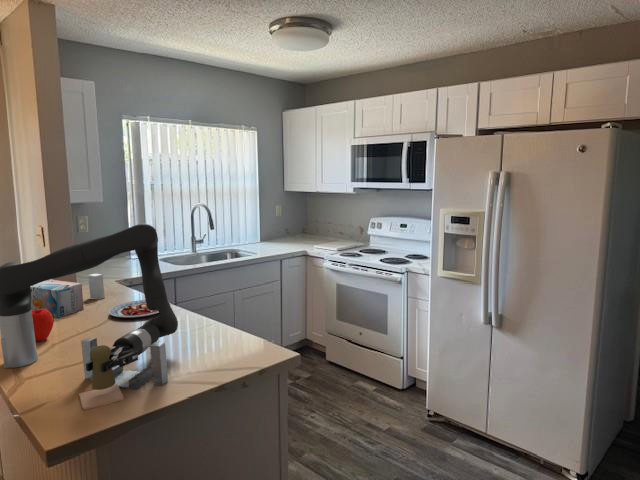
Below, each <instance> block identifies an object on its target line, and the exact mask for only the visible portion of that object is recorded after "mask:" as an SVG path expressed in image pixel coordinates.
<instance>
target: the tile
mask: <svg viewBox="0 0 640 480" xmlns="http://www.w3.org/2000/svg"><path fill="white" fill-rule="evenodd" d="M78 394H79V400H80V404H81V407H82V411H87V410H90V409H95V408H98V407H102V406H105V405H110V404H113V403H117V402H121V401H124V400H125V397H124V395H123V393H122V391H121V388H119V386H118V384H115V385H113V386H112V387H109V388H106V389H102V390H95V389H91V390H88V391H84V392H80V393H78Z"/></svg>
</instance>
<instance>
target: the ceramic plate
mask: <svg viewBox="0 0 640 480" xmlns="http://www.w3.org/2000/svg"><path fill="white" fill-rule="evenodd" d="M168 302H169V304H170V306H171V307H172V303H171V302H170V301H168ZM108 313H109V315H111V316H113V317H116V318H130V319H135V318H144V317H146V318H147V317H150V316H153V315H156V314H158V313H159V312H158V310H153V311H152V310H149V309H148V308H147V305H146V300H145V299H139V300H133V301H128V302H124V303H120V304H117V305H115V306H113V307H111V308H110V309H109V310H108ZM159 314H160V313H159Z"/></svg>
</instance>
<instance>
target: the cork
mask: <svg viewBox="0 0 640 480" xmlns="http://www.w3.org/2000/svg"><path fill="white" fill-rule="evenodd" d="M110 348H111V347H109V346H108V345H97V346H96V347H94V348H93V349H91V351H90V357H91V359H92V360H93V370H92V379H91V389H92V390H102V389H106V388H109V387H112V386H113V385H114V384H115V378H114V374H113V370H112V368H111V369H109V370H108V371H106V372H101V365H102V364H103V363H105V362H107V361H108V360H110V359H109V357H110V354H111V350H110Z"/></svg>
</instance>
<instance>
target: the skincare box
mask: <svg viewBox="0 0 640 480" xmlns="http://www.w3.org/2000/svg"><path fill="white" fill-rule="evenodd" d="M87 277H88V284H89V285H88V286H89V298H90V299H92V300H95V301H96V300H97V301H98V300H102V299H105V287H104V286H105V285H104V275H103V274H100V273H92V274H91V273H90V274H88V276H87Z"/></svg>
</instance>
